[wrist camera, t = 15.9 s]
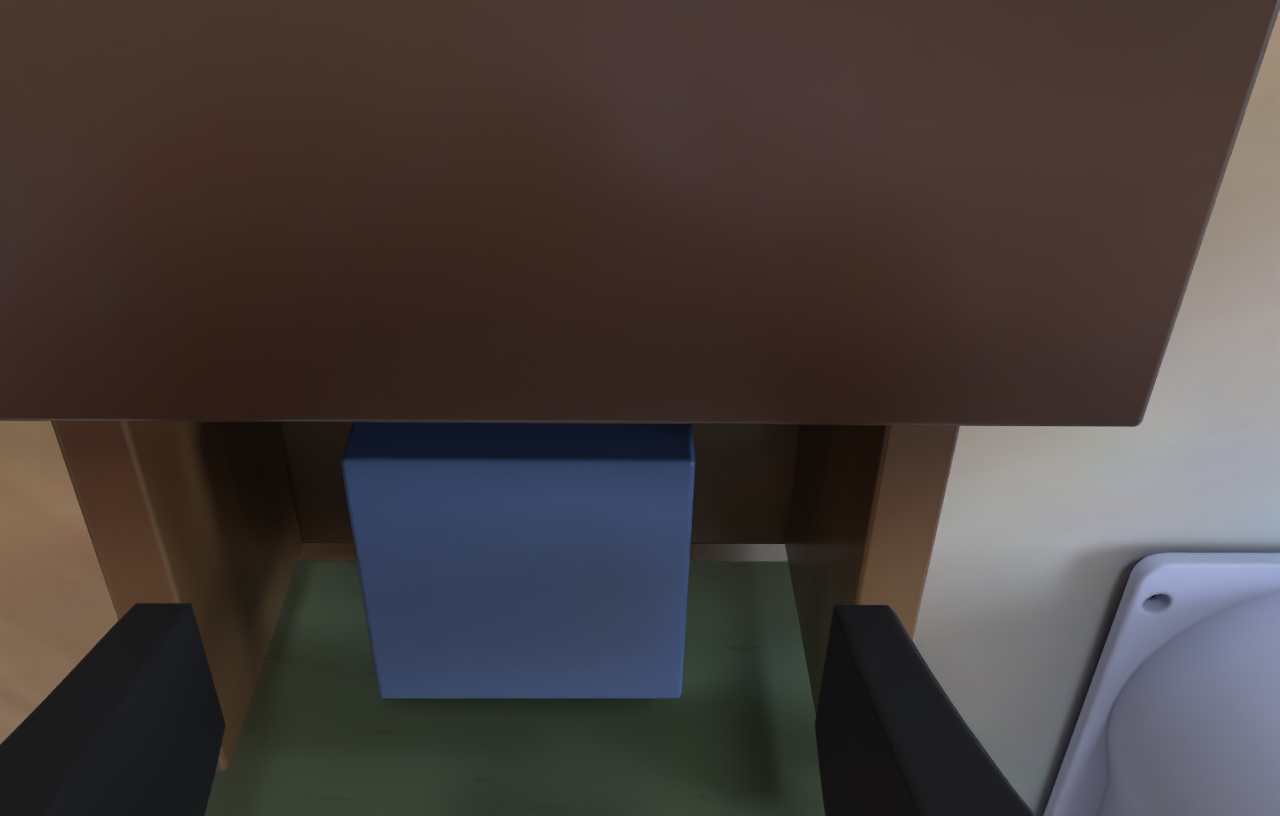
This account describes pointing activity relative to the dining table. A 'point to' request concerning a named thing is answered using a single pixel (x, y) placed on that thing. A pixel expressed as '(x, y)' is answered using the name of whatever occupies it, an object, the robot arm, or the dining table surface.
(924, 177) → the cabinet
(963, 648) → the dining table surface
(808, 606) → the drawer
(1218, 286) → the dining table surface
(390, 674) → the block
